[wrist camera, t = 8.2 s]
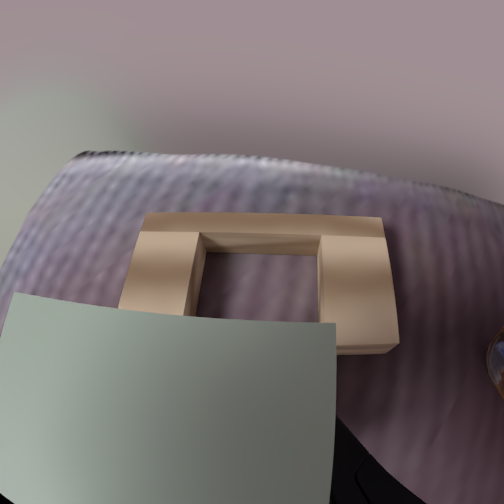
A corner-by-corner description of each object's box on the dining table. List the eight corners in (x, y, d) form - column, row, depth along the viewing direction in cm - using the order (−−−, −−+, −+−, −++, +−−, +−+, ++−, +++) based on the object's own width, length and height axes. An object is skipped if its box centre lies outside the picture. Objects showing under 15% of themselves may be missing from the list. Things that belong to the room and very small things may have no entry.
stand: (385, 353, 20) (399, 343, 18) (130, 339, 22) (113, 327, 20) (372, 238, 26) (381, 217, 23) (157, 232, 28) (146, 212, 25)
